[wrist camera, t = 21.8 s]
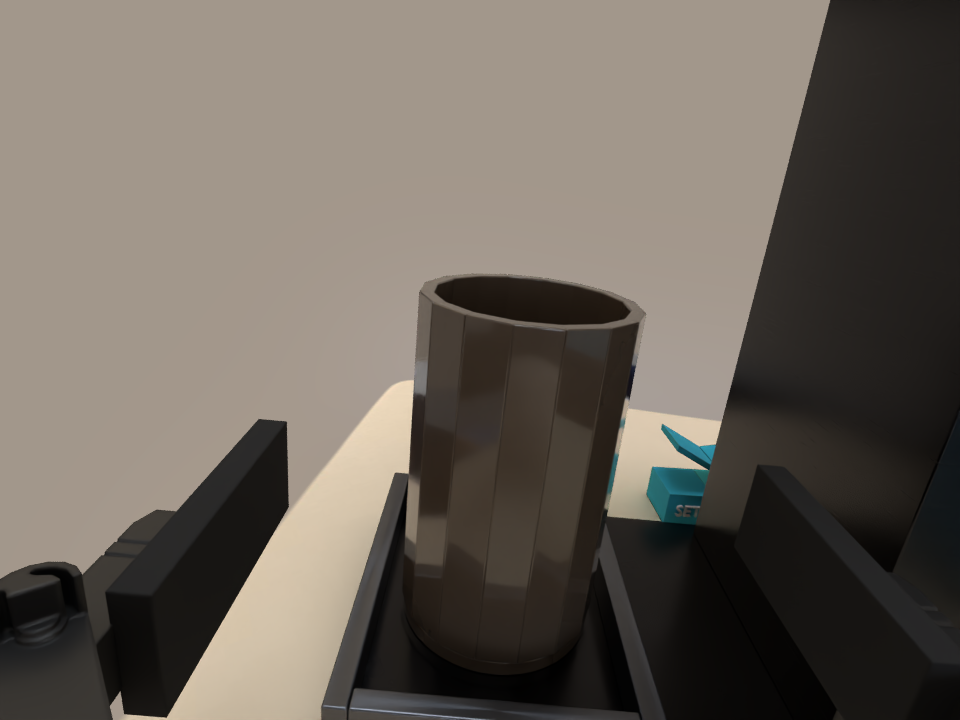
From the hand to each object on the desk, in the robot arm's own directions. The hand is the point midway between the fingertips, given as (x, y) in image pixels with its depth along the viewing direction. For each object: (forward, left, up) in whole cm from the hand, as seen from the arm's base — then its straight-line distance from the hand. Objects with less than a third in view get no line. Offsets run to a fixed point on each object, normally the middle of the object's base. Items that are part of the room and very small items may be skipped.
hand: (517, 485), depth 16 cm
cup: (-3, +5, -9) cm, 10 cm away
